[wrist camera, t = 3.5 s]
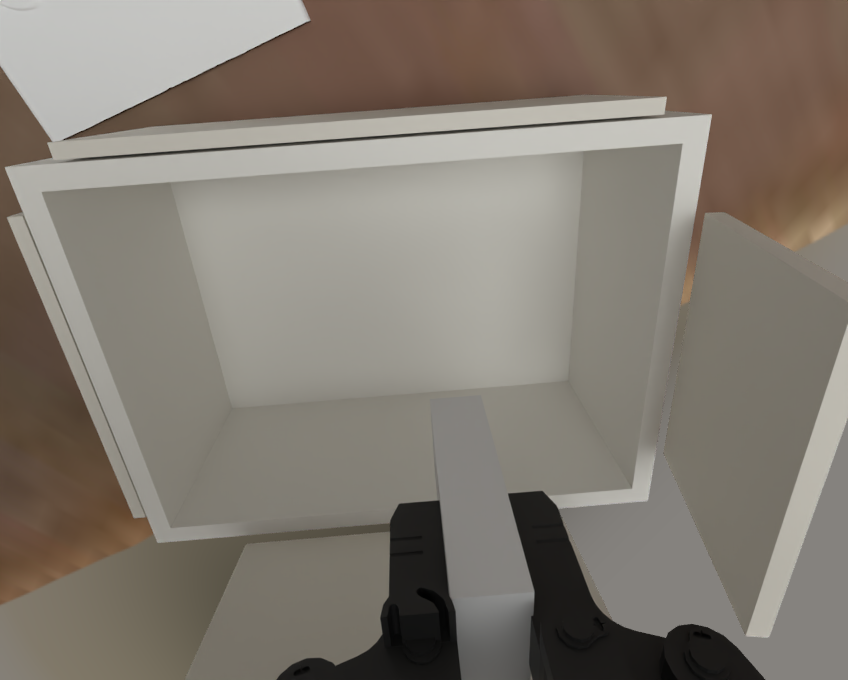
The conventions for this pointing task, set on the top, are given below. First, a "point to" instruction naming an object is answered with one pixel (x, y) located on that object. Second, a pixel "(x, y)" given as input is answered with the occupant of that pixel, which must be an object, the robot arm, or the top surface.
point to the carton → (367, 301)
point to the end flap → (757, 408)
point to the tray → (124, 50)
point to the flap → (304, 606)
